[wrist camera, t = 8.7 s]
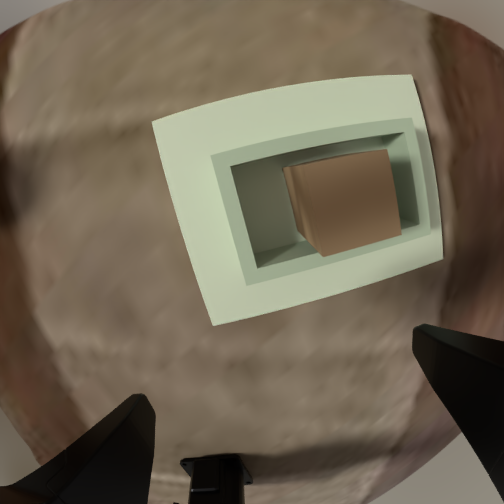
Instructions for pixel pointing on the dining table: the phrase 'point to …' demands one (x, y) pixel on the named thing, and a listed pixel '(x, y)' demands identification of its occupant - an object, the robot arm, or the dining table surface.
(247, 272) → the well
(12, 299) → the dining table surface
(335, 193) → the brown wooden block
